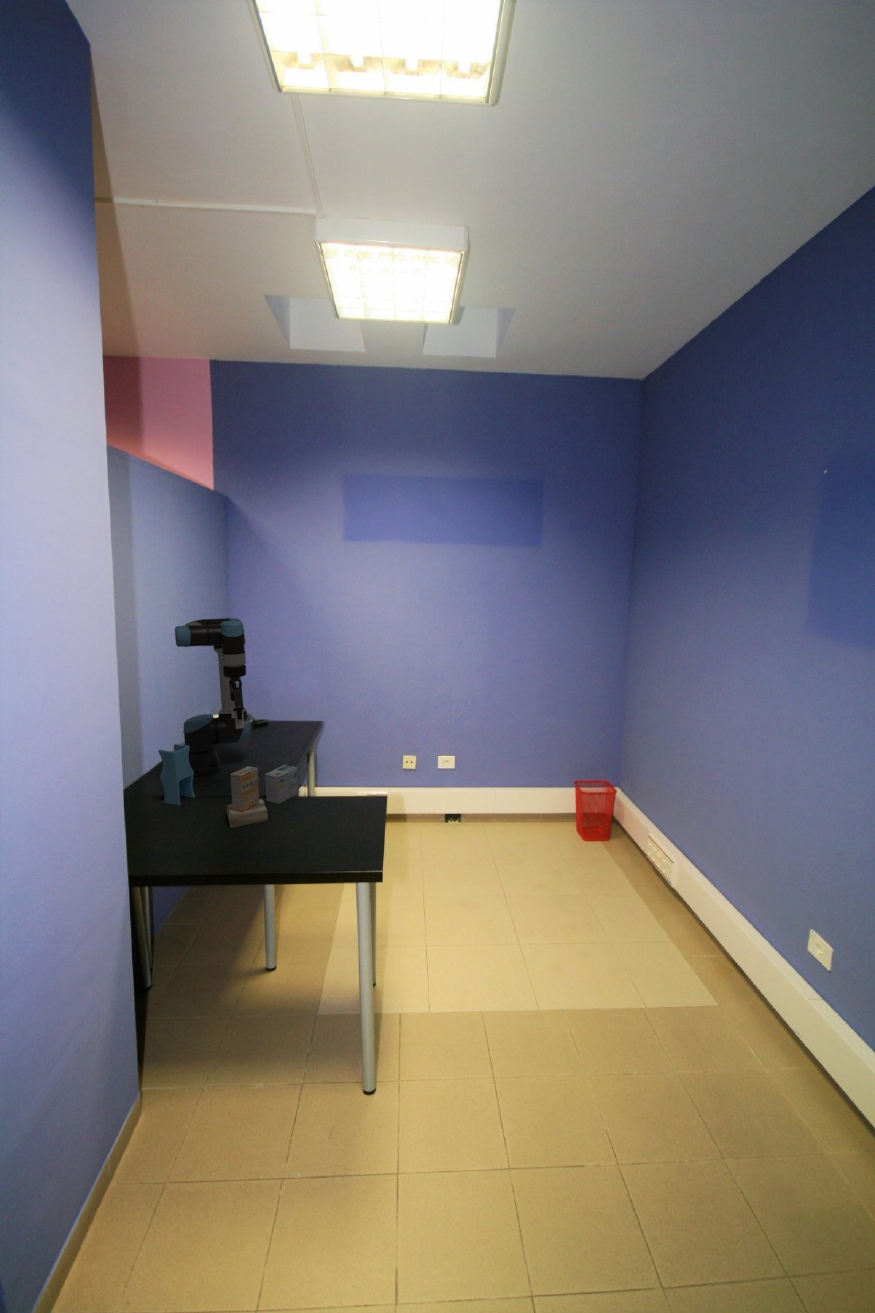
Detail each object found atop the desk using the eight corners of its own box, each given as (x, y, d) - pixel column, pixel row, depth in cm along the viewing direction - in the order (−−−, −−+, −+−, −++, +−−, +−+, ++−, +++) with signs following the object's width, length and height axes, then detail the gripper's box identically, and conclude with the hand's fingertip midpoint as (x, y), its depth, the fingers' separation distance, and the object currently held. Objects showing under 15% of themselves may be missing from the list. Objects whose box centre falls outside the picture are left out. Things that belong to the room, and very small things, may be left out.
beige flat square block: (227, 815, 181) (226, 804, 180) (263, 808, 186) (262, 798, 186) (230, 827, 172) (229, 816, 172) (267, 820, 178) (267, 809, 177)
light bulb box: (285, 790, 202) (284, 764, 201) (299, 793, 199) (298, 766, 198) (265, 801, 193) (264, 773, 191) (279, 804, 190) (278, 776, 188)
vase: (179, 794, 199) (175, 743, 196) (195, 796, 196) (191, 746, 193) (162, 802, 192) (157, 750, 188) (178, 805, 189) (174, 752, 186)
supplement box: (243, 813, 174) (240, 775, 172) (232, 810, 176) (229, 773, 174) (260, 803, 182) (258, 767, 180) (249, 800, 183) (247, 765, 181)
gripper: (220, 659, 193) (223, 714, 197) (226, 672, 171) (230, 734, 175) (241, 658, 196) (244, 712, 200) (250, 670, 174) (253, 731, 178)
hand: (237, 722), depth 187 cm, fingers open, 13 cm apart
